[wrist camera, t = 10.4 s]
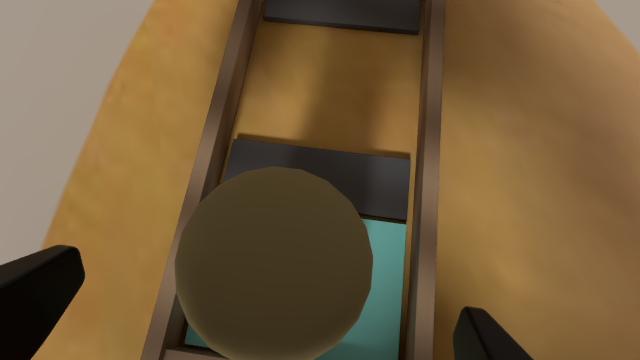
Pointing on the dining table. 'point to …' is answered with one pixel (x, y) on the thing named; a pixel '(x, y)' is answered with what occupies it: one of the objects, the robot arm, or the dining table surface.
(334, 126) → the dining table surface
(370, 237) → the pad
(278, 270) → the cork
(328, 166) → the channel
